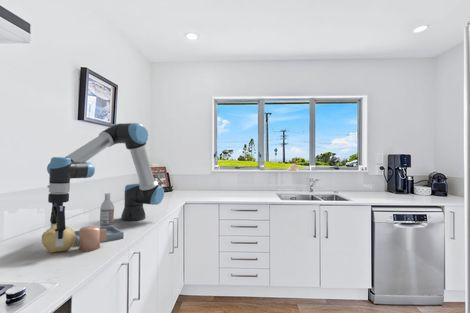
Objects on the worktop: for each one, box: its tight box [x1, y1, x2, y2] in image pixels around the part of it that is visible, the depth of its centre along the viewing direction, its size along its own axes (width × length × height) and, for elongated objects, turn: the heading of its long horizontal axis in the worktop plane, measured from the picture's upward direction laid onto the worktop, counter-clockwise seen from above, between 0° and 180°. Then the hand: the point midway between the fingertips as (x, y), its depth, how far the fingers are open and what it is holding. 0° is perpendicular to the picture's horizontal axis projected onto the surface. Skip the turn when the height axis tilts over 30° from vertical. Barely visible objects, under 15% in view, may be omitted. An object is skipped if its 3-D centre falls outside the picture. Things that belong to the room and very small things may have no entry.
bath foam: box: [99, 192, 115, 228], centre depth 154 cm, size 7×7×20 cm
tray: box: [73, 225, 125, 247], centre depth 136 cm, size 20×16×3 cm
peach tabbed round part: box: [78, 225, 107, 252], centre depth 122 cm, size 8×11×9 cm
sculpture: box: [41, 225, 75, 253], centre depth 118 cm, size 12×12×11 cm
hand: (56, 242), depth 118 cm, fingers open, 13 cm apart
